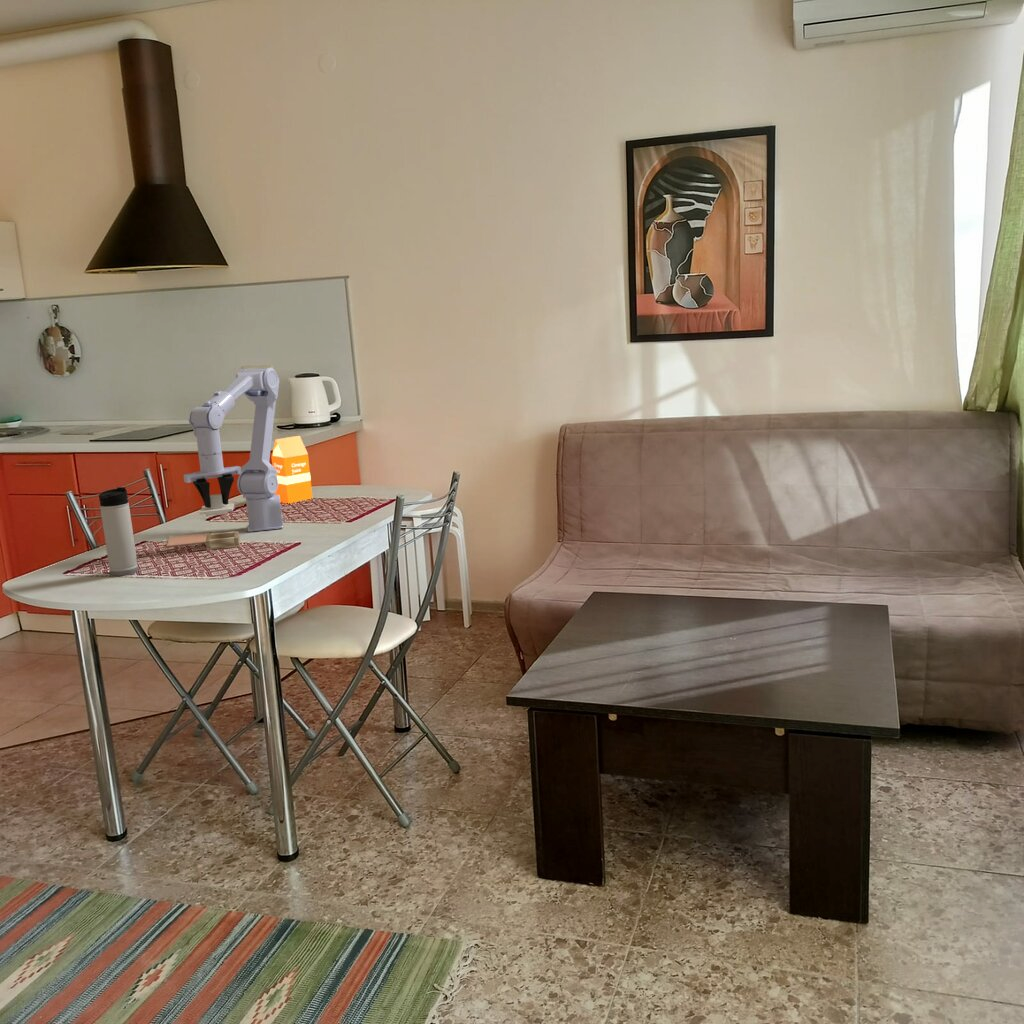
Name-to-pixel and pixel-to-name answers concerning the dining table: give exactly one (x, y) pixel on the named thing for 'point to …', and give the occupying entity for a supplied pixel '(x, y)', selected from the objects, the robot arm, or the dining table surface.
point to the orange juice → (292, 470)
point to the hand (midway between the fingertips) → (216, 505)
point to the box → (222, 540)
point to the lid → (217, 506)
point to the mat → (187, 540)
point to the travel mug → (118, 532)
